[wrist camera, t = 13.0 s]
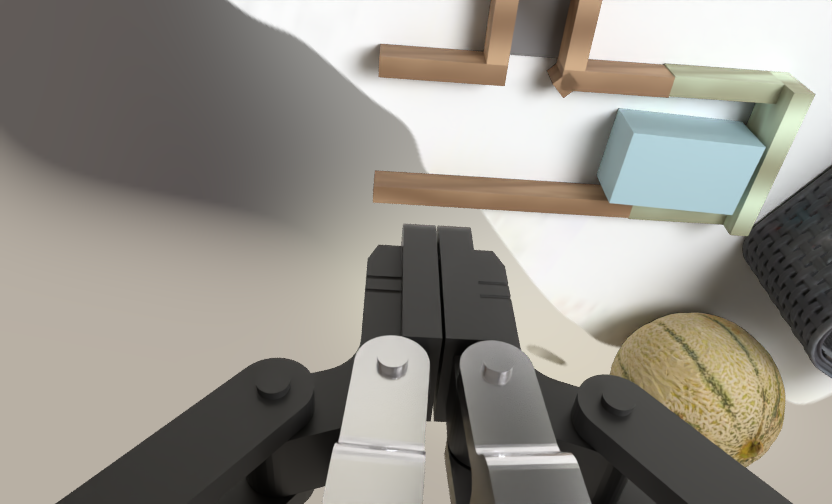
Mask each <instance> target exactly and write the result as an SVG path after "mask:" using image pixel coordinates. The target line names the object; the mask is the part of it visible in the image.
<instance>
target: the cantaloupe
mask: <svg viewBox="0 0 832 504" xmlns="http://www.w3.org/2000/svg"><path fill="white" fill-rule="evenodd" d="M610 375H615V376H619V377H622V378H625V379H627V380H629V381H631V382H633V383H635V384H636V385H638V386H639V387H641V388H642V389H643V390H645V391H646V392H647V393H649V394H650V395H651V396H653V397H654V398H655V399H657V400H658V401H659V402H660V403H662V404H663V405H664V406H666V407H667V408H668V409H670V410H671V411H672V412H674V413H675V414H676V415H677V416H679V417H680V418H681V419H683V420H684V421H685V422H687V423H688V424H689V425H691V426H692V427H693V428H694V429H696V430H697V431H698V432H700V433H701V434H702V435H704V436H705V437H706V438H708V439H709V440H710V441H711V442H713V443H714V444H715V445H717V446H718V447H719V448H721V449H722V450H723V451H725V452H726V453H727V454H728V455H730V456H731V457H732V458H734V459H735V460H736V461H738V462H739V463H740V464H742V465H743V466H744V467H745V468H746V467H747V466H749V465H750V464H751V463H753V462H754V461H756V460H758V459H760V458H761V457H762V456H763V455H764V454H765V453H766V452H767V451H768V450H769V448H770V446H771V445H772V443H773V442H774V441H775V440H776V439H777V437H778V435H779V433H780V431H781V429H782V425H783V420H784V410H785V390H784V385H783V381H782V378H781V375H780V373H779V370H778V368H777V366H776V365H775V363H774V361H773V359H772V357H771V356H770V354H769V353H768V352H767V351H766V350H765V348H764V347H763V346H762V345H761V344H760V343H759V342H758V341H757V340H756V339H755V338H754V337H753V336H751V335H750V334H749V333H748V332H747V331H745V330H744V329H743V328H741V327H740V326H738V325H737V324H735V323H733V322H731V321H729V320H726V319H724V318H721V317H718V316H714V315H710V314H705V313H698V312H695V313H675V314H670V315H667V316H664V317H661V318H658V319H656V320H654V321H652V322H651V323H649V324H645V325H644V326H642V327H641V328H639V329H637V330H636V331H635V332H634V333H633V334H632V335H631V336H629V337H628V338H627V340H626V341H625V342H624V343H623V344H622V346H621V348H620V349H619V351H618V353H617V355H616V357H615V359H614V362H613V364H612V367H611V372H610Z"/></svg>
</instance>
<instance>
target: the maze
mask: <svg viewBox="0 0 832 504" xmlns="http://www.w3.org/2000/svg"><path fill="white" fill-rule="evenodd" d="M601 4H602V0H491V2H490V9H489V16H488V23H487V30H486V37H485V44H484V51H470V50H457V49H443V48H429V47H416V46H402V45H389V44H381V45H380V55H379V76H378V77H384V78H398V79H412V80H426V81H440V82H454V83H468V84H483V85H497V86H505V80H506V74H507V68H508V62H509V56H510V54H511V55H525V56H539V57H552V58H557V62H556V64H555V65H554V66H553V67H551V68H550V69H549V70H547V72H548V75H549V77H550V79H551V81H552V84H553V85H554V86H555V88H556V89H557V90H558V92H559V93H560V94H561V96H562V97H563V98H564V97H566V96H567V95H568V94H570V93H571V92H573V91H581V92H595V93H609V94H623V95H638V96H652V97H666V98H669V96H670V97H684V98H698V99H713V100H727V101H741V102H755V103H756V104H755V106H754V108H753V111H752V113H751V116H750V118H749V120H748V123H747V125H746V127H747V128H748V129H749V130H750V131H751V132H752V133H753V134H754V135H755V136H756V137H757V138H758V139H759V141H760V142H761V143H762V144H763V145H764V146H765V147H766V148H765V150H764V152H763V154H762V156H761V158H760V160H759V162H758V164H757V166H756V168H755V170H754V172H753V174H752V176H751V178H750V180H749V182H748V185H747V187H746V189H745V191H744V193H743V195H742V197H741V199H740V201H739V203H738V205H737V207H736V209H735V211H734V213H733V215H725V214H715V213H705V212H695V211H685V210H675V209H665V208H655V207H645V206H635V205H624V204H614V203H609V201H608V199H607V197H606V195H605V193H604V190H603V188H602V186H601V185H596V184H581V183H565V182H549V181H533V180H517V179H502V178H486V177H470V176H454V175H438V174H422V173H407V172H390V171H375V176H374V189H373V202H375V203H392V204H393V203H394V204H408V205H425V206H441V207H458V208H474V209H491V210H507V211H524V212H540V213H557V214H573V215H590V216H606V217H623V218H628V219H639V220H655V221H672V222H688V223H705V224H722V225H724V227H725V228H726V230H727V231H728V233H729V234H730V235H737V236H748V235H749V233H750V231H751V229H752V227H753V225H754V223H755V221H756V219H757V216H758V214H759V212H760V210H761V208H762V206H763V204H764V202H765V200H766V197H767V195H768V193H769V191H770V189H771V187H772V185H773V183H774V181H775V178H776V176H777V174H778V172H779V170H780V168H781V166H782V164H783V162H784V159H785V157H786V155H787V153H788V151H789V149H790V147H791V145H792V143H793V140H794V138H795V136H796V134H797V132H798V130H799V128H800V126H801V124H802V121H803V119H804V117H805V115H806V113H807V111H808V109H809V107H810V105H811V102H812V100H813V98H814V96H815V94H814V93H813V92H812V91H810V90H809V89H808V88H807V87H806V86H804V85H803V84H802V83H801V82H799V81H798V80H797V79H796V78H794V77H793V76H792V75H791V74H790V73H786V72H773V71H759V70H746V69H732V68H719V67H705V66H692V65H678V64H665V63H664V65H660V64H646V63H633V62H619V61H606V60H592V59H588V57H589V53H590V49H591V45H592V41H593V37H594V33H595V29H596V24H597V20H598V16H599V12H600V8H601Z"/></svg>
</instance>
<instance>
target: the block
mask: <svg viewBox="0 0 832 504" xmlns="http://www.w3.org/2000/svg"><path fill="white" fill-rule="evenodd" d="M765 148H766V147H765V146H764V145H763V144H762V143H761V142H760V141H759V139H758V138H757V137H756V136H755V135H754V134H753V133H752V132H751V131H750V130H749V129H748V128H747V127H746V126H745V124H744V123H743V122H740V121H731V120H722V119H713V118H703V117H694V116H685V115H676V114H667V113H658V112H649V111H640V110H631V109H622V108H619V109H618V112H617V115H616V118H615V121H614V124H613V127H612V130H611V133H610V136H609V139H608V142H607V145H606V148H605V151H604V154H603V157H602V160H601V163H600V166H599V169H598V172H597V177H598V179H599V182H600V184H601V186H602V188H603V190H604V193H605V195H606V197H607V199H608V201H609V203H614V204H624V205H635V206H645V207H655V208H665V209H675V210H685V211H695V212H705V213H715V214H725V215H733V213H734V211H735V209H736V207H737V205H738V203H739V201H740V199H741V197H742V195H743V193H744V191H745V189H746V187H747V185H748V182H749V180H750V178H751V176H752V174H753V172H754V170H755V168H756V166H757V164H758V162H759V160H760V158H761V156H762V154H763V152H764V150H765Z"/></svg>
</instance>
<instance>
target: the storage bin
mask: <svg viewBox="0 0 832 504" xmlns="http://www.w3.org/2000/svg"><path fill="white" fill-rule="evenodd" d="M743 255H744V258H745V260H746V262H747V263H748V265H749V266H750V268H751V269H752V271H753V272H754V273H755V275H756V276H757V277H758V279H759V281H760V283H761V285H762V286H763V288H764V289H765V290H766V291H767V292H768V294H769V297H770V299H771V300H772V302H773V303H774V304H775V305H776V307H777V308H778V309H779V311H780V314H781V316H782V317H783V318H784V320H785V321H786V322H787V323H788V324H789V326H790V327H791V330H792V332H793V334H794V335H795V336H796V338H797V339H798V340H799V341H800V343H801V344H802V345H803V347H804V350H805V351H806V353H807V354H808V356H809V358H810V360H811V361H812V363H813V364H814V366H815V367H816V368H818V369H819V370H820V371H822V372H823V373H825V374H826V375H828V376H829V377H830V378H832V168H831V169H829V170H828V171H827V172H825V173H824V174H823V175H821V176H820V177H819V178H817V179H816V180H815V181H813V182H812V183H811V184H809V185H808V186H807V187H805V188H804V189H803V190H802V191H800V192H799V193H798V194H796V195H795V196H794V197H792V198H791V199H790V200H788V201H787V202H786V203H784V204H783V205H782V206H780V207H779V208H778V209H776V210H775V211H774V212H772V213H771V214H770V215H768V216H767V217H766V218H764V219H763V220H762V221H761V222H759V223H758V224H757V225H756V226H754V228H753V229H752V230H751V231H750V233H749V235H748V236H747V237H746V239H745V241H744V245H743Z"/></svg>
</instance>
